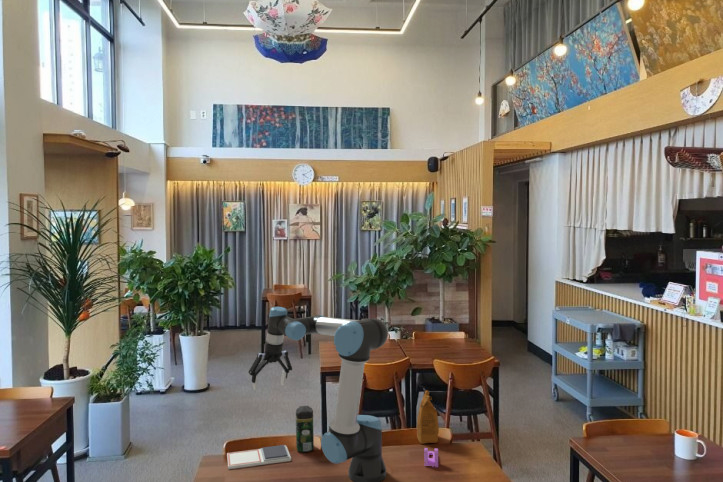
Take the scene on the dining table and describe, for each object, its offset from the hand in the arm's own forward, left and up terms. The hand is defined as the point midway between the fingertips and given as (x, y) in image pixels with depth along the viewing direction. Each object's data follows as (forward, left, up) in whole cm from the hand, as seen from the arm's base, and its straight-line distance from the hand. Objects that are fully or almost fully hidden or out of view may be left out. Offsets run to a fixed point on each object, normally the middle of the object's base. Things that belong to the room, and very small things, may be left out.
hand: (268, 387), depth 225 cm
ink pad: (-5, -2, -28) cm, 28 cm away
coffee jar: (-1, -16, -29) cm, 33 cm away
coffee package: (-9, -73, -29) cm, 79 cm away
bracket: (-30, -65, -29) cm, 77 cm away
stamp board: (-5, +5, -29) cm, 30 cm away
